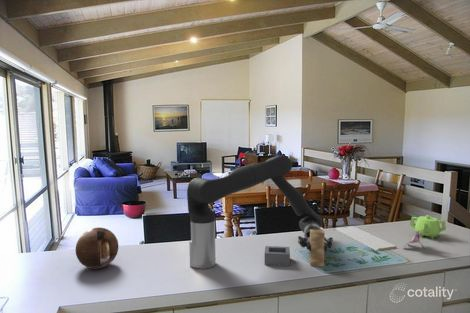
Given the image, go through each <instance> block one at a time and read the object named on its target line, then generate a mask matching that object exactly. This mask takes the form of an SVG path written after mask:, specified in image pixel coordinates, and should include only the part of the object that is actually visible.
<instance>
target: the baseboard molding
mask: <svg viewBox="0 0 470 313" xmlns="http://www.w3.org/2000/svg"><path fill="white" fill-rule="evenodd" d="M334 230H335V231H336V232H338V233H340V234H342V235H344V236H346V237H348V238H350V239H351V240H354V241H356V242H358V243H359V244H362V245H364V246H365V247H367V246H368V248H369V247H370V248H369V249H371V248H372V249H371V250H373V249H374V250H373V251H375V252H378V251H377V250H379V251H385V250H386V251H387V250H392V249H397V246H396V245H395V244H393V243H391V242H388V241H387V240H384V239H382V238H380V237H377V236H375V235H373V234H372V233H369V232H367V231H364V230H362V229H360V228H359V227H356V226H354V225H353V224H351V225H347V226H345V224H344V223H343V224H342V226H337V228H334Z"/></svg>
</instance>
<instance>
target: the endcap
mask: <svg viewBox="0 0 470 313" xmlns="http://www.w3.org/2000/svg"><path fill="white" fill-rule="evenodd" d="M290 251H291V250H290V246H277V245H276V246H275V245H274V246H273V245H265V246H264V266H277V267H279V266H280V267H290V266H291V265H290V264H291V262H290V261H291V260H290V259H291V254H290V253H291V252H290Z"/></svg>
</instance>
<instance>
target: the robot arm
mask: <svg viewBox="0 0 470 313" xmlns="http://www.w3.org/2000/svg"><path fill="white" fill-rule="evenodd" d="M292 168H293V162H292V160H291V159H290V157H288V156H287V155H284V154H280V155H276V156H273V157H269V158H268V159H266V160H265V161H262V162H256V163H251V164H246V165H244V166H240V167H237V168H233V170H232V171H230V172H229V173H228V175H226V176H224V177H219V178H213V179H210V178H203V177H194V178H193V179H191V180H190V181H189V183H188V185H187V189H186V197H187V198H186V199H187V212H188V215H189V217H190V241H189V266H190V268H191V267H193V268H195V269H200V270H205V269H206V270H207V269H209V268H212V267H214V266H216V259H217V258H216V214H215V212H214V211H213V210H212V208H211V207H210V205H211V204H212V203H215V202H217V201H219V200H221V199H223V198H225V197H227V196H229V195H232V194H234V193H235V194H236V193H238V192H241V191H244V190H246V189H250V188H252V187H254V186H257V185H260V184H262V183H263V182H266V181H268V180H271V181H272V182H273V183H274V185H276V188H278V189H279V190H280V192H281V193H282V194H283V195H284V196H285V198H286V199H287V201H288V202H289V205H290V206H291V208H292V209H293V211H294V213H295V214H296V216H298V217H301V216H305V217H303V218H301V219H300V220H299V221H298V227H299V229H300V230H301V231H302V233H304V234H303V235H304V237H303V236H300V235H298V236H297V237H298V238H297V242H298V245H299V246H300V247H301V248H305V247H306V250H308V251H309V252H310V251H311V244H310V229H313V230H322V228H321V227H322V225H323V220H322V218H321V217H320V215H318V214H317V213H316V212H315V211H314V210H313V209H312V208H311V207H310V205H309V203H308V202H307V200H306V198H305V196H304V195H303V194H302V192H300V191H299V190H298V189H297V188H296V187H294V186H293V185H292V184H291V183H290V182H289V181H288V180H287V179H286V177H285V176H286V175H288V174H290V173H291V170H292ZM307 215H308V216H307ZM333 244H334V243H333V236H332V237H331V236H330V237H329V238H328V237H326V236H324V253H325V252H327V251H328V250H329V249H332V248H333Z"/></svg>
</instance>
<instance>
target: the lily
mask: <svg viewBox="0 0 470 313" xmlns="http://www.w3.org/2000/svg"><path fill="white" fill-rule="evenodd" d="M423 229H424V228H423ZM423 229H422V230H423ZM420 230H421V229H420ZM420 230H419V231H420ZM422 230H421V231H422ZM419 231H418V232H417V233H416V232H415V235H410V237H411V238H412V240H411V241H409V242H408V243H407V242H406V244H405V245H404V246H403V248H402V249H404V248H405V247H406V245H408V246H409V245H410V244H415V243H419V244H420V245H421V246H422V249H423V250H424V251H427V249H426V248H425V247H424V245H423V243H422V242H421V240H420V237H419V235H420V232H421V231H420V232H419Z"/></svg>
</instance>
